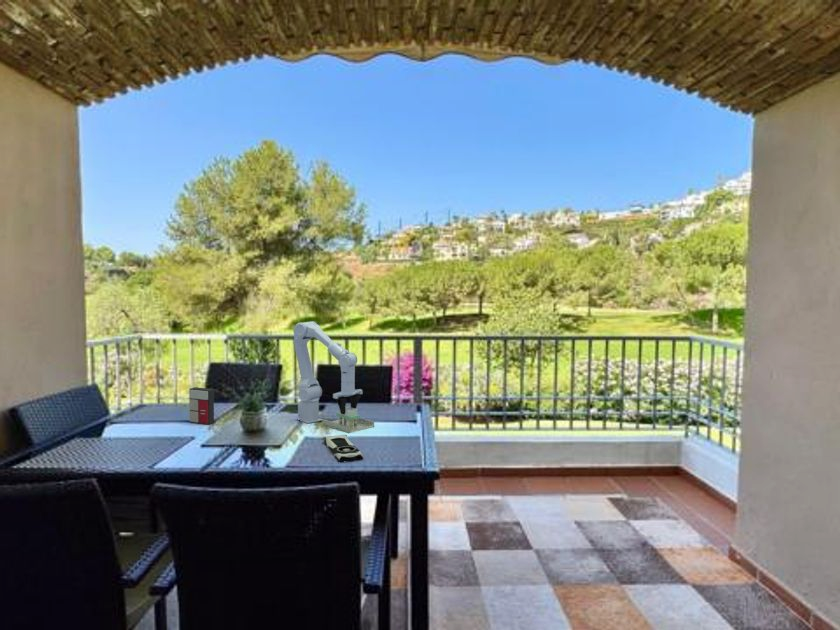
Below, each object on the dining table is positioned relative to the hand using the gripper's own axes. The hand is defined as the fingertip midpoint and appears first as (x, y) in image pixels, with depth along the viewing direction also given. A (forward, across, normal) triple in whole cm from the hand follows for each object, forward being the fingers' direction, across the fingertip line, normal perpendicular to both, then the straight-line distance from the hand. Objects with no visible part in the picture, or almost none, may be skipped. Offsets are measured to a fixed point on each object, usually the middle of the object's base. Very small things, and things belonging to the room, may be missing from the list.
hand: (348, 412), depth 246 cm
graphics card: (+6, -25, -27) cm, 37 cm away
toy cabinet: (+6, -42, +49) cm, 65 cm away
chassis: (+6, 0, 0) cm, 6 cm away
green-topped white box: (+2, 0, 0) cm, 2 cm away
